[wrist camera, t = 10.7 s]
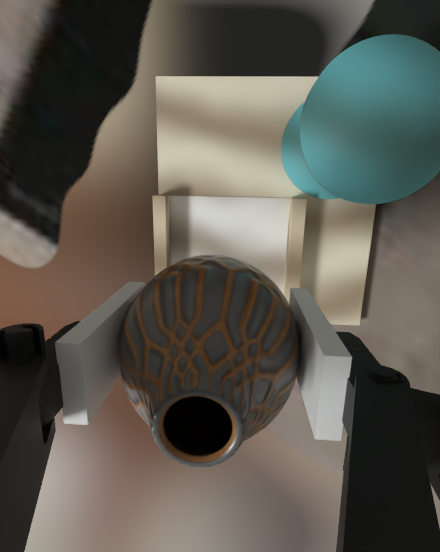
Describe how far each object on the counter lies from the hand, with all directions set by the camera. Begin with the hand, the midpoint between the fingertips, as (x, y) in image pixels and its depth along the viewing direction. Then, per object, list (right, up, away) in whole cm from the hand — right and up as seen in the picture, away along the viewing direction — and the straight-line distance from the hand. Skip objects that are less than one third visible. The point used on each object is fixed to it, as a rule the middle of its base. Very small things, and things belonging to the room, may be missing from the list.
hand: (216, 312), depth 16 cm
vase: (0, 0, +1) cm, 1 cm away
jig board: (+4, +8, +13) cm, 15 cm away
